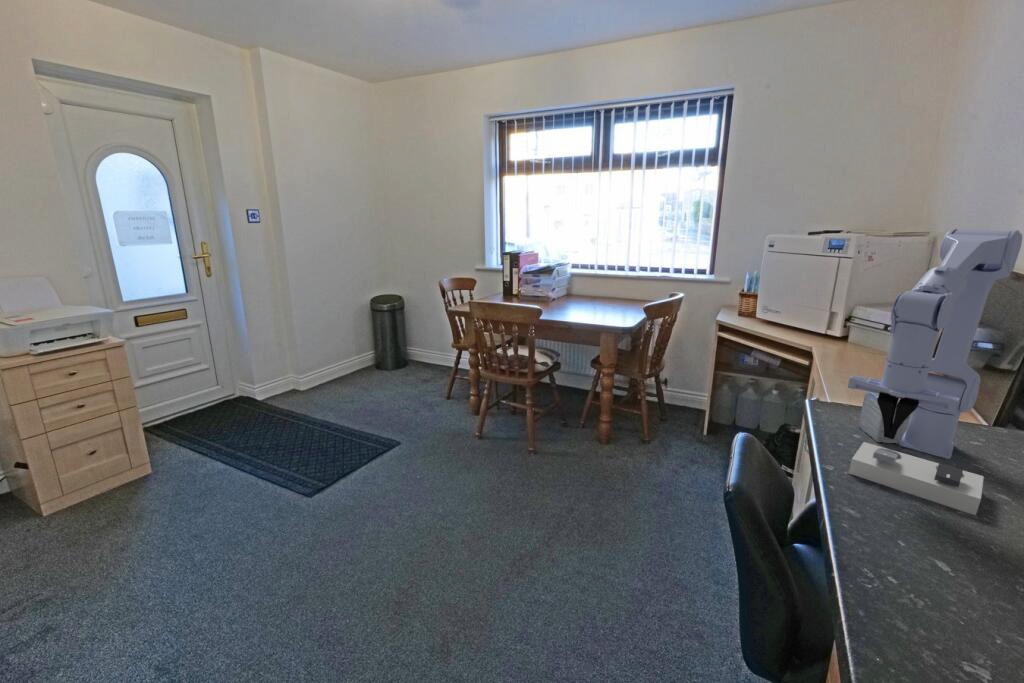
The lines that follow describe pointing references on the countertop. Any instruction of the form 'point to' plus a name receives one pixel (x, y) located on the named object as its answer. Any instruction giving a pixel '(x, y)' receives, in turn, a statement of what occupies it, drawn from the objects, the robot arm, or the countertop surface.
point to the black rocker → (948, 475)
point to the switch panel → (917, 478)
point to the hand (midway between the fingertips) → (889, 436)
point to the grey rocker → (885, 456)
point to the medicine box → (875, 420)
